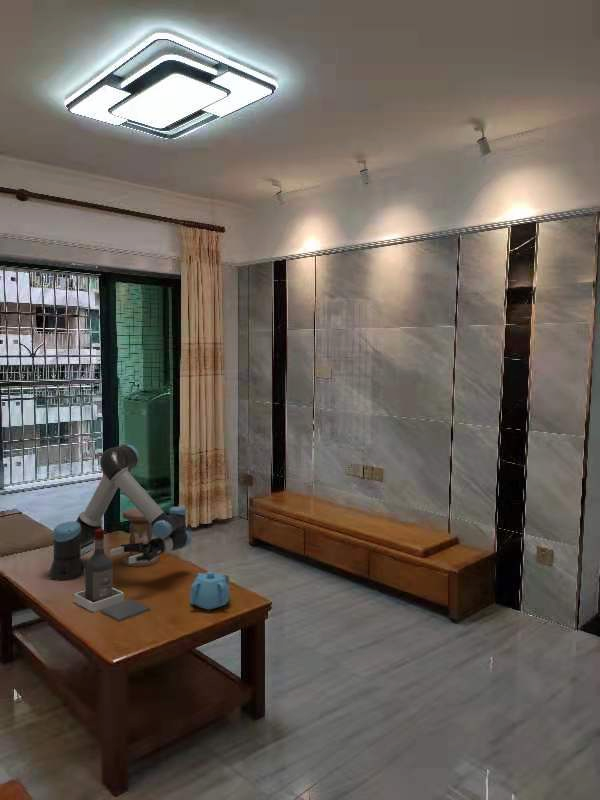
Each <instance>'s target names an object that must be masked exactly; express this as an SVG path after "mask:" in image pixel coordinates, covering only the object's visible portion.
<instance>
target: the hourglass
mask: <svg viewBox="0 0 600 800" xmlns="http://www.w3.org/2000/svg"><path fill="white" fill-rule="evenodd" d="M122 518H123V519H125V520H127V521H129V531H130V535H129V539H128V541H129V543H128V544H134V543H136V536H135V532H136V533H137V535H138V538H139V539H142V538H143V535H144V533H145V532H146V537H147V541H146V544H148V543H149V542H150V540H151V539H153V538H152V537H153V535H154V533H153V526H152V525H151V523H150V522H149V521H148V520H147V519H146V518H145V517H144V515H143V514H142V513H141V512H140V511H139V510H138V509H137V508H136V507H134V508H129V509H126V510H124V511H123V512H122ZM140 551H141V549H140ZM139 554H143V553H138V552H128V553H126V554H124V555H123V557H121V558H122V561H121V563H122V564H123V565H125V566H127V567H131V568H132V567H133V568H142V567H143V568H144V567H149V566H153V565H155V564H156V563H158V562H159V560H160V557H159V555H157V556H156V557H154V558H153V559H151V560H150V561H147V559H146V560H142V561H138V562H135V563H132V564H129V557H131V556H135V555H139Z"/></svg>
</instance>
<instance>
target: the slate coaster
mask: <svg viewBox="0 0 600 800" xmlns="http://www.w3.org/2000/svg"><path fill="white" fill-rule="evenodd" d="M150 610H151V607H150V606H147V605H145V604H142V603H140V602H139V601H137V600H134V599H132V598H129V599H126V600H124V601H123V602H120V603H117V604H114V605H111V606H109V607H106V608H103V609H100V610H99V611H100V613H102V614H104V615H106V616H108V617H109V618H112V619H114V620H115V621H117V622H119V623H120V622H122V621H124V620H128V619H130V618H133V617H136V616H138V615H141V614H143V613H146V612H148V611H150Z"/></svg>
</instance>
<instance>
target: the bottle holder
mask: <svg viewBox="0 0 600 800" xmlns="http://www.w3.org/2000/svg"><path fill="white" fill-rule="evenodd" d="M73 601H74V602H73V603H74V604H76V603H77V604H76V605H78V606H80V607H81V606H82V608H83V607H84V608H83V609H85V608H86V610H87V609H88V610H87V611H89V612H91V613H96V612H99V611H100V609H103V608H106V607H109V606H111V605H114V604H117V603H120V602H123V601H125V593H124V592H123V591H121V590H119V589H116V588H115V587H114V586H112V597H109V598H106V599H103V600H100V601H97V602H94V603H93V602H91V601H89V600H87V599H85V589H84V590H82V591H78V592H75V593H73ZM92 611H93V612H92Z"/></svg>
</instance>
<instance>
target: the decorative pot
mask: <svg viewBox="0 0 600 800" xmlns="http://www.w3.org/2000/svg"><path fill="white" fill-rule="evenodd" d="M229 582H230V577H229V575H228V574H227V573H221V574H220V573H217V572H214V571H207V572H206V573H202V572H199V573H196V575H195V578H194V581H193V583H192V584H191V586H190V594H189V597H190V599H189V603H190V604H191V605H195V606H196V607H198V608H201V609H204V610H205V609H211V610H212V609H217V608H221V607H223V606H225V605H226V604H228V602H229V600H230V598H231V594H230V593H231V592H230V587H229Z"/></svg>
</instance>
